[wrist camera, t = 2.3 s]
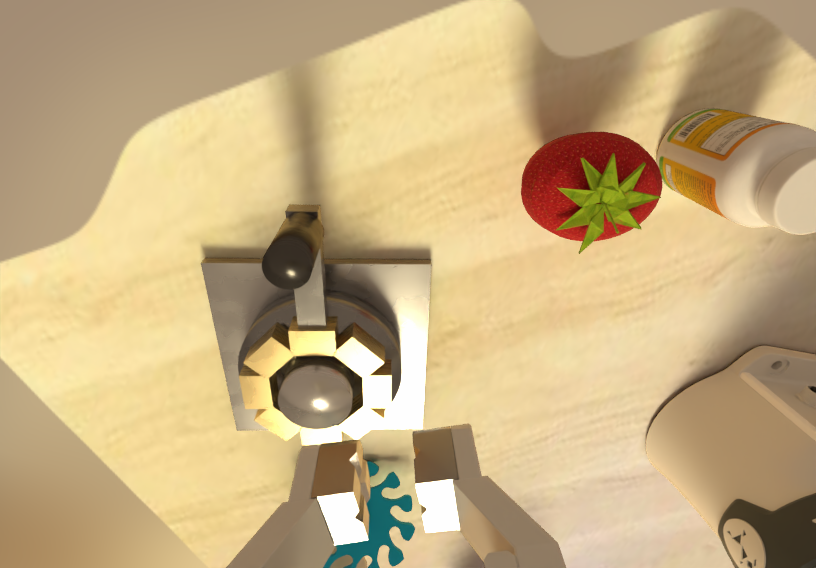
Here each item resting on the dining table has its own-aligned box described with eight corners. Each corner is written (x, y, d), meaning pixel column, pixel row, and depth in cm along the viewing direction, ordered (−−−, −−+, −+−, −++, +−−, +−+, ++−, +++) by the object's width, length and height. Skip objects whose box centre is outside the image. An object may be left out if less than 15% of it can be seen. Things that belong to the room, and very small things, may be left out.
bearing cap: (430, 259, 33) (438, 302, 27) (421, 421, 40) (426, 479, 35) (204, 258, 32) (168, 301, 27) (239, 423, 40) (216, 482, 34)
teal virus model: (426, 475, 41) (401, 600, 38) (419, 468, 47) (397, 577, 44) (308, 447, 41) (274, 570, 38) (315, 444, 47) (287, 551, 44)
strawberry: (600, 209, 31) (683, 276, 22) (493, 204, 31) (535, 270, 22) (626, 120, 28) (731, 157, 20) (508, 112, 28) (563, 146, 19)
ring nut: (392, 204, 27) (393, 246, 22) (390, 426, 36) (391, 496, 30) (217, 201, 27) (172, 244, 21) (258, 427, 35) (234, 499, 30)
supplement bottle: (714, 195, 31) (837, 254, 23) (640, 185, 31) (738, 242, 22) (753, 113, 29) (908, 145, 20) (674, 100, 28) (798, 128, 19)
